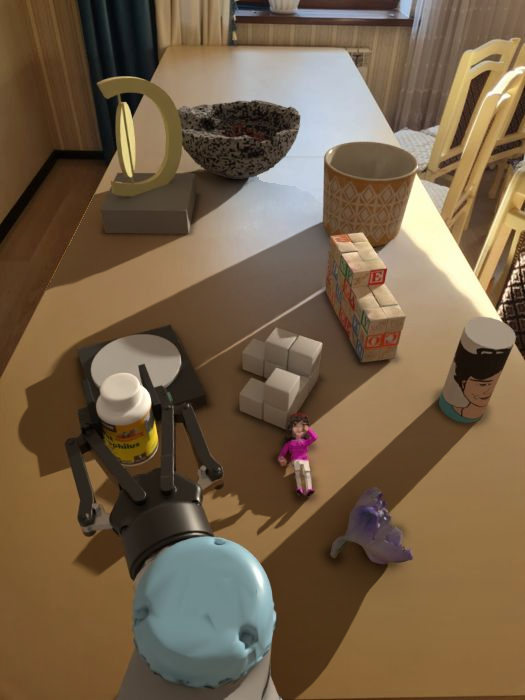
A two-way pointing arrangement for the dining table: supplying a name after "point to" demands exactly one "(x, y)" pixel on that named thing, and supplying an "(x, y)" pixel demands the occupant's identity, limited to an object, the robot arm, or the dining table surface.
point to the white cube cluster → (279, 375)
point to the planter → (367, 189)
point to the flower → (373, 531)
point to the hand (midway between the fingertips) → (115, 381)
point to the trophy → (147, 188)
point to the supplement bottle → (127, 419)
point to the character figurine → (299, 449)
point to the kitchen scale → (159, 358)
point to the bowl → (238, 136)
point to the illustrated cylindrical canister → (476, 368)
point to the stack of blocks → (363, 297)
